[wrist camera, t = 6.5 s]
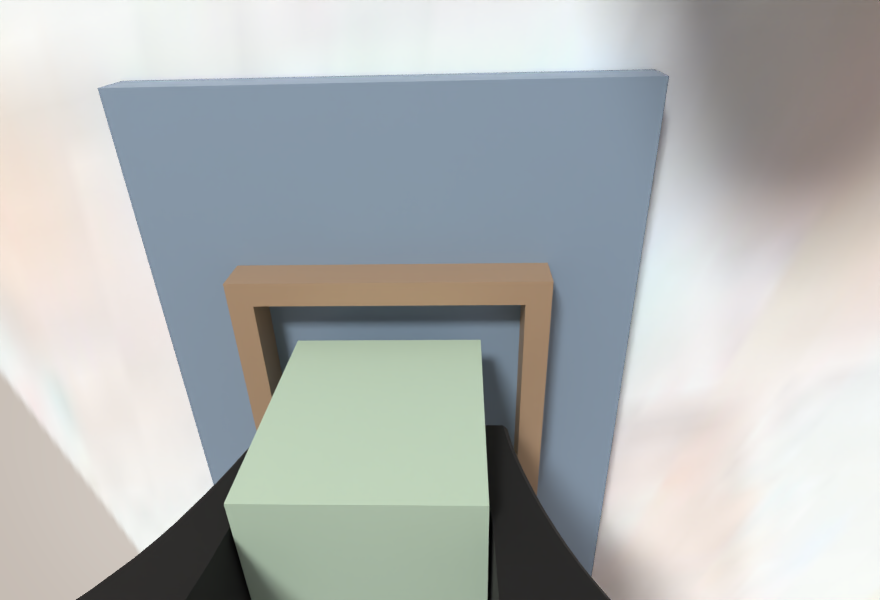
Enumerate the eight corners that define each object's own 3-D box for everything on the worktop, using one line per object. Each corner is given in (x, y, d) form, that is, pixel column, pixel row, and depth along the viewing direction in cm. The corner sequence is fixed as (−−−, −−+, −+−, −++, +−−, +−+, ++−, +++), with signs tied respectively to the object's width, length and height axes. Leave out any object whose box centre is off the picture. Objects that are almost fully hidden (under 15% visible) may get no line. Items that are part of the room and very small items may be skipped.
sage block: (479, 474, 16) (486, 661, 12) (320, 474, 16) (268, 658, 12) (480, 339, 14) (489, 505, 9) (297, 340, 14) (223, 504, 10)
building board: (585, 553, 21) (596, 607, 19) (249, 549, 21) (230, 602, 19) (654, 69, 13) (685, 83, 11) (121, 80, 13) (69, 96, 12)
